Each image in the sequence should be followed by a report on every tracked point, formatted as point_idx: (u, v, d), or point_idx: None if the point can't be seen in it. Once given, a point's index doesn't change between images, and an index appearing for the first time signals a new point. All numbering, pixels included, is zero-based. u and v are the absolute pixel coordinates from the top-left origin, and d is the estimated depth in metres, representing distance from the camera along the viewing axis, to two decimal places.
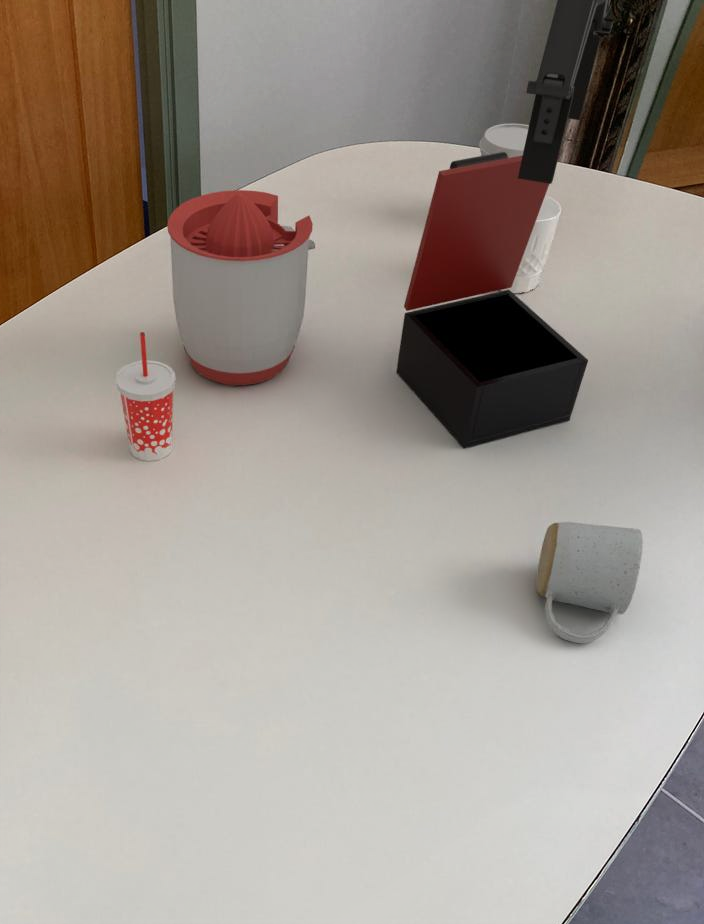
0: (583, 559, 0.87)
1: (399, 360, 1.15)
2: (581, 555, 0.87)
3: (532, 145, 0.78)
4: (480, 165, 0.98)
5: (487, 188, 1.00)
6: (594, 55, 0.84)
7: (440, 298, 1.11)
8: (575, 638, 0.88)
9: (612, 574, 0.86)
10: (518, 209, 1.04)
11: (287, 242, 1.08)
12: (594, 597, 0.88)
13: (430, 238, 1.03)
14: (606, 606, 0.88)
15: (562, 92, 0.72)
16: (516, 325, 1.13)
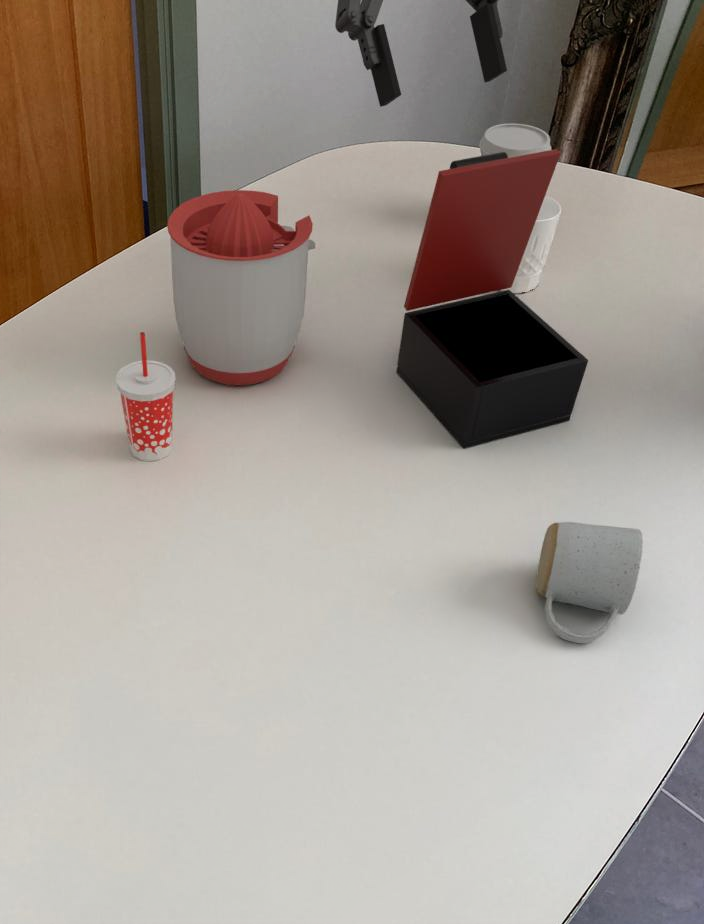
0: (583, 559, 0.87)
1: (399, 360, 1.15)
2: (581, 555, 0.87)
3: (376, 76, 0.98)
4: (480, 165, 0.98)
5: (487, 188, 1.00)
6: (488, 18, 1.00)
7: (440, 298, 1.11)
8: (574, 638, 0.88)
9: (612, 574, 0.86)
10: (518, 209, 1.04)
11: (287, 242, 1.08)
12: (594, 597, 0.88)
13: (430, 238, 1.03)
14: (606, 606, 0.88)
15: (346, 18, 0.95)
16: (516, 325, 1.13)
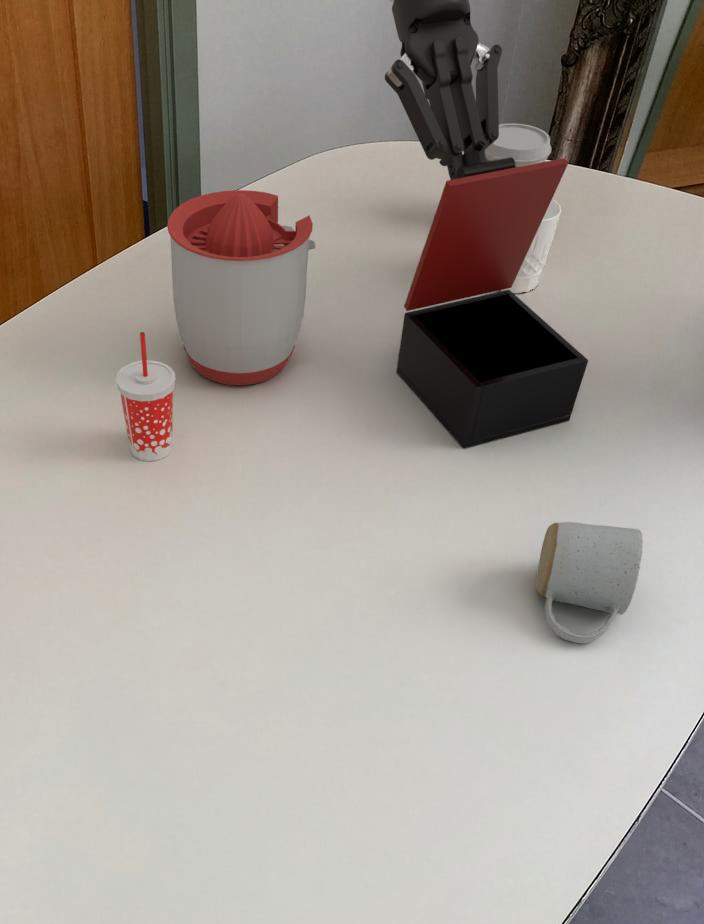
0: (583, 559, 0.87)
1: (399, 360, 1.15)
2: (581, 555, 0.87)
3: None
4: (488, 175, 0.97)
5: (493, 196, 0.99)
6: None
7: (440, 299, 1.11)
8: (575, 638, 0.88)
9: (612, 574, 0.86)
10: (523, 215, 1.04)
11: (287, 242, 1.08)
12: (594, 597, 0.88)
13: (434, 244, 1.02)
14: (606, 606, 0.88)
15: (435, 146, 1.02)
16: (516, 325, 1.13)
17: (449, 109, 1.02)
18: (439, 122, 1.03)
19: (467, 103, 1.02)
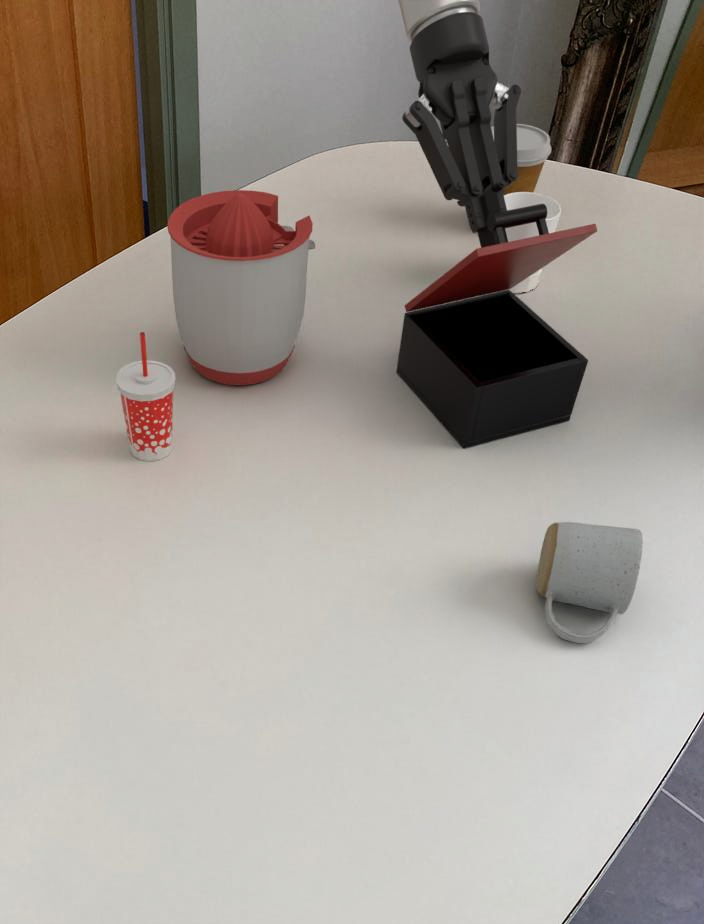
0: (583, 558, 0.87)
1: (399, 360, 1.15)
2: (581, 555, 0.87)
3: (482, 238, 1.03)
4: (517, 243, 0.96)
5: (517, 255, 0.98)
6: (492, 205, 1.01)
7: (441, 302, 1.11)
8: (575, 638, 0.88)
9: (612, 574, 0.86)
10: (540, 258, 1.03)
11: (287, 242, 1.08)
12: (594, 597, 0.88)
13: (448, 282, 1.02)
14: (606, 606, 0.88)
15: (453, 188, 1.01)
16: (516, 325, 1.13)
17: (467, 150, 1.01)
18: (457, 163, 1.02)
19: (486, 144, 1.01)
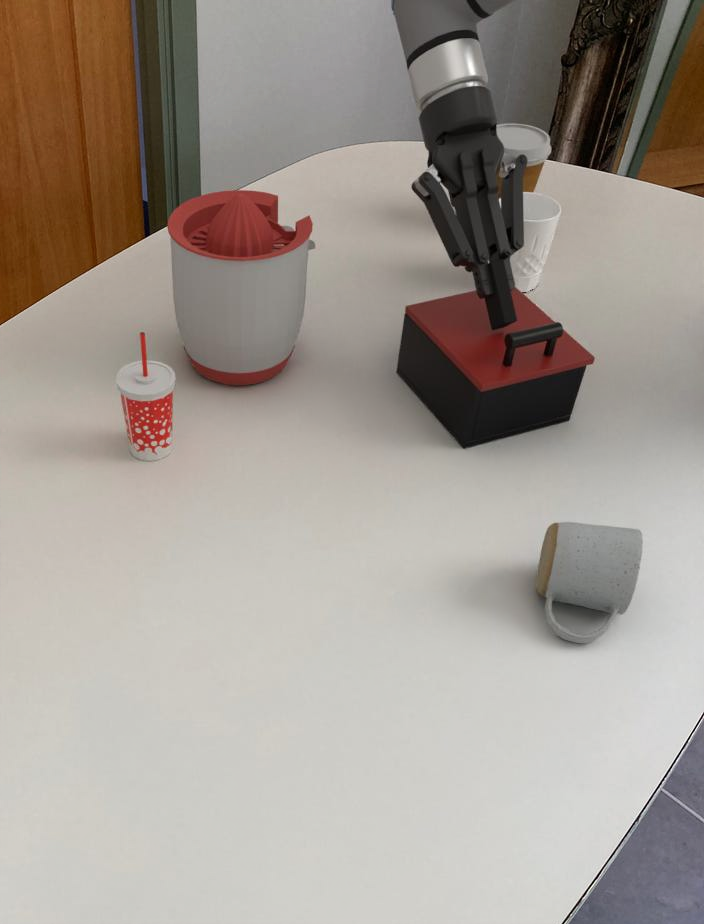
0: (583, 559, 0.87)
1: (399, 360, 1.15)
2: (581, 555, 0.87)
3: (488, 304, 1.06)
4: (520, 378, 1.02)
5: None
6: (499, 273, 1.04)
7: None
8: (574, 638, 0.88)
9: (612, 574, 0.86)
10: None
11: (287, 242, 1.08)
12: (594, 597, 0.88)
13: None
14: (606, 606, 0.88)
15: (461, 256, 1.03)
16: None
17: (475, 219, 1.03)
18: (465, 231, 1.04)
19: (493, 213, 1.03)
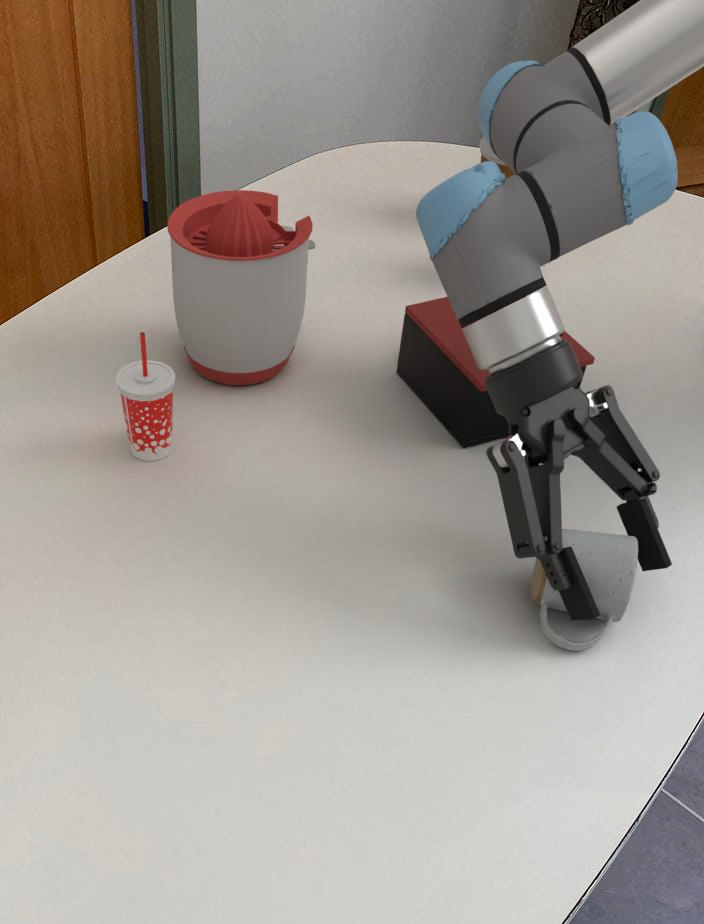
0: None
1: (399, 360, 1.15)
2: None
3: (564, 592, 0.86)
4: None
5: None
6: (644, 515, 0.87)
7: None
8: (570, 646, 0.87)
9: (608, 582, 0.86)
10: None
11: (287, 242, 1.08)
12: None
13: None
14: (601, 614, 0.88)
15: (532, 552, 0.82)
16: None
17: (555, 500, 0.83)
18: (538, 509, 0.84)
19: (613, 463, 0.86)
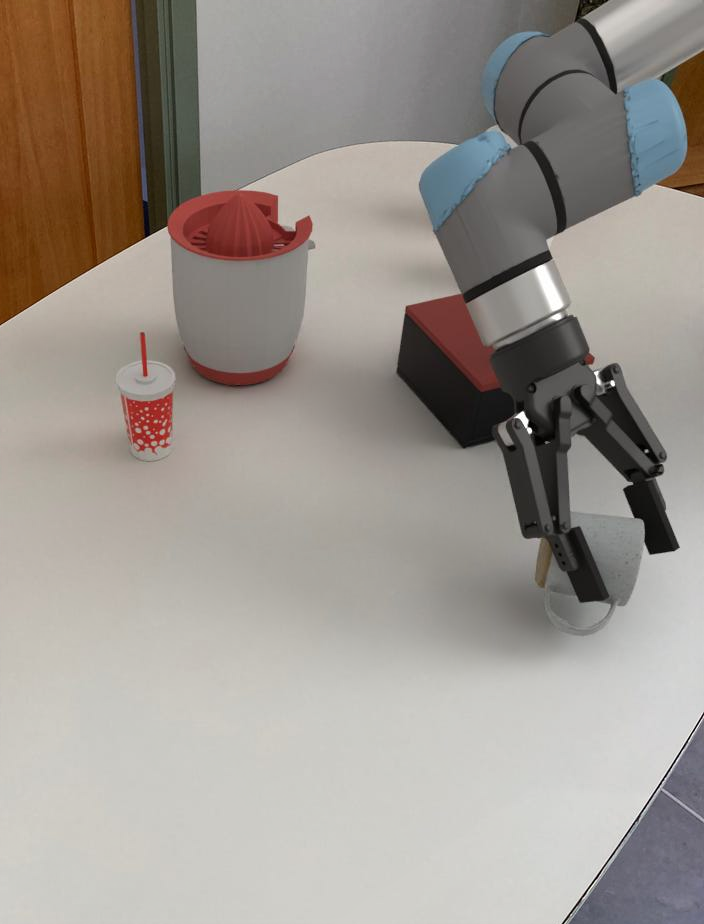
0: None
1: (399, 360, 1.15)
2: None
3: (572, 574, 0.84)
4: None
5: None
6: (651, 497, 0.85)
7: None
8: (574, 630, 0.85)
9: (613, 565, 0.84)
10: None
11: (287, 242, 1.08)
12: None
13: None
14: (607, 598, 0.86)
15: (540, 532, 0.80)
16: None
17: (562, 479, 0.81)
18: (545, 488, 0.82)
19: (620, 442, 0.84)
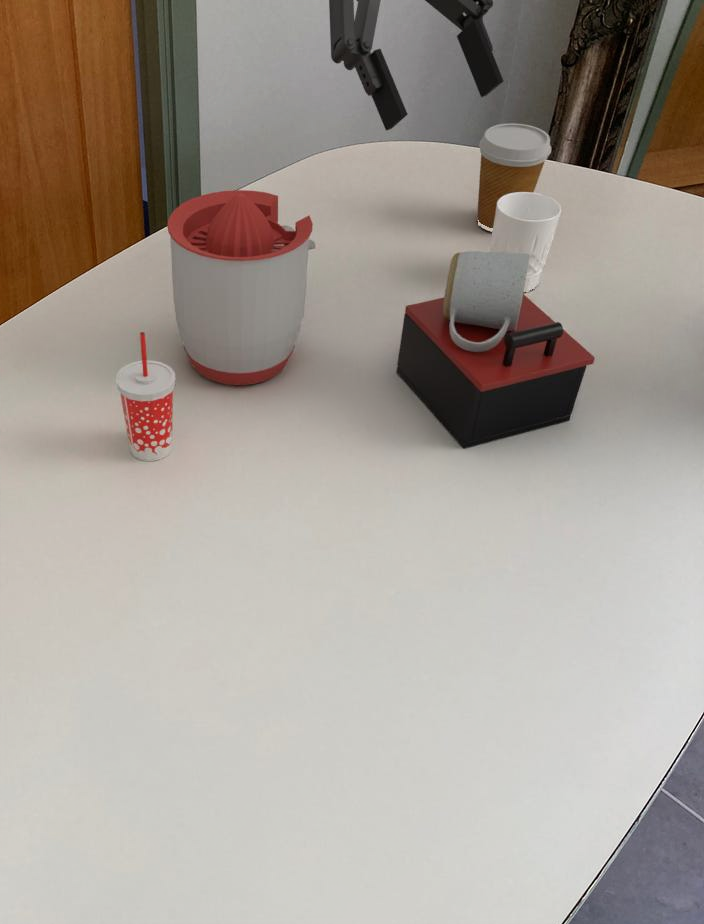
0: (478, 274, 1.02)
1: (399, 360, 1.15)
2: (477, 272, 1.02)
3: (378, 101, 0.97)
4: (520, 378, 1.02)
5: None
6: (478, 33, 1.00)
7: None
8: (472, 345, 1.03)
9: (503, 286, 1.01)
10: None
11: (287, 242, 1.08)
12: (489, 310, 1.03)
13: None
14: (500, 319, 1.04)
15: (343, 47, 0.93)
16: None
17: (372, 9, 0.95)
18: (358, 20, 0.96)
19: None
